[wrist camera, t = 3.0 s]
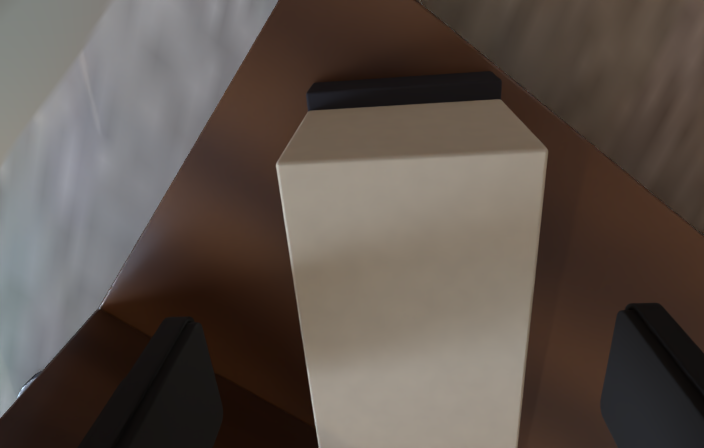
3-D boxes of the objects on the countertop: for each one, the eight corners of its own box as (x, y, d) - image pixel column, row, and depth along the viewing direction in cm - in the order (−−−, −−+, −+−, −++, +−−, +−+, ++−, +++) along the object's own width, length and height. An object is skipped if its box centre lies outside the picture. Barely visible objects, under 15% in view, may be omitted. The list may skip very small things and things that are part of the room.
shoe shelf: (337, -64, 17) (245, -144, 6) (749, 273, 21) (1113, 569, 11) (134, 270, 23) (-79, 514, 13) (481, 472, 28) (539, 776, 17)
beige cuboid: (312, 82, 15) (270, 138, 10) (492, 70, 15) (552, 122, 9) (344, 378, 20) (329, 521, 15) (477, 377, 20) (510, 524, 14)
